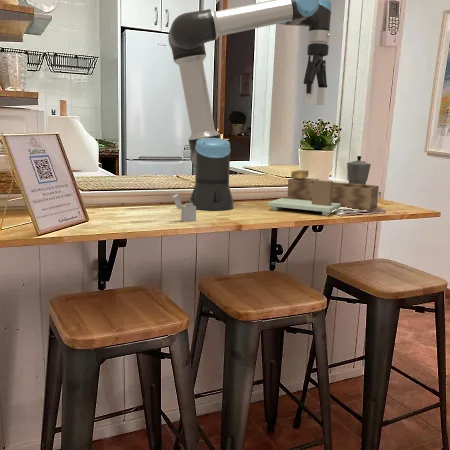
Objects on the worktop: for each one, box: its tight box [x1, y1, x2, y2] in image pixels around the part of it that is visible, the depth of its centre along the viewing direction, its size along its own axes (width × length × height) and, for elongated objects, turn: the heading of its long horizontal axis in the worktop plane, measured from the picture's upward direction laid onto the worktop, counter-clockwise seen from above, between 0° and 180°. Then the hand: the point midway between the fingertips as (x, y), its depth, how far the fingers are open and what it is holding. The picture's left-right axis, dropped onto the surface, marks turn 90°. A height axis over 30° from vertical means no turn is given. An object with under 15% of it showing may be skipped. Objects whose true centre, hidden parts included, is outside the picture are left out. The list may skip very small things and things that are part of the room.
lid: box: [267, 179, 341, 216], centre depth 173 cm, size 22×14×11 cm, turn 63°
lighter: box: [171, 193, 197, 222], centre depth 148 cm, size 7×2×8 cm, turn 116°
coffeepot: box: [346, 155, 371, 185], centre depth 201 cm, size 15×9×18 cm, turn 149°
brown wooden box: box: [286, 177, 380, 212], centre depth 187 cm, size 31×14×9 cm, turn 63°
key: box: [290, 169, 309, 179], centre depth 192 cm, size 4×8×2 cm, turn 153°
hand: (314, 104), depth 188 cm, fingers open, 13 cm apart
